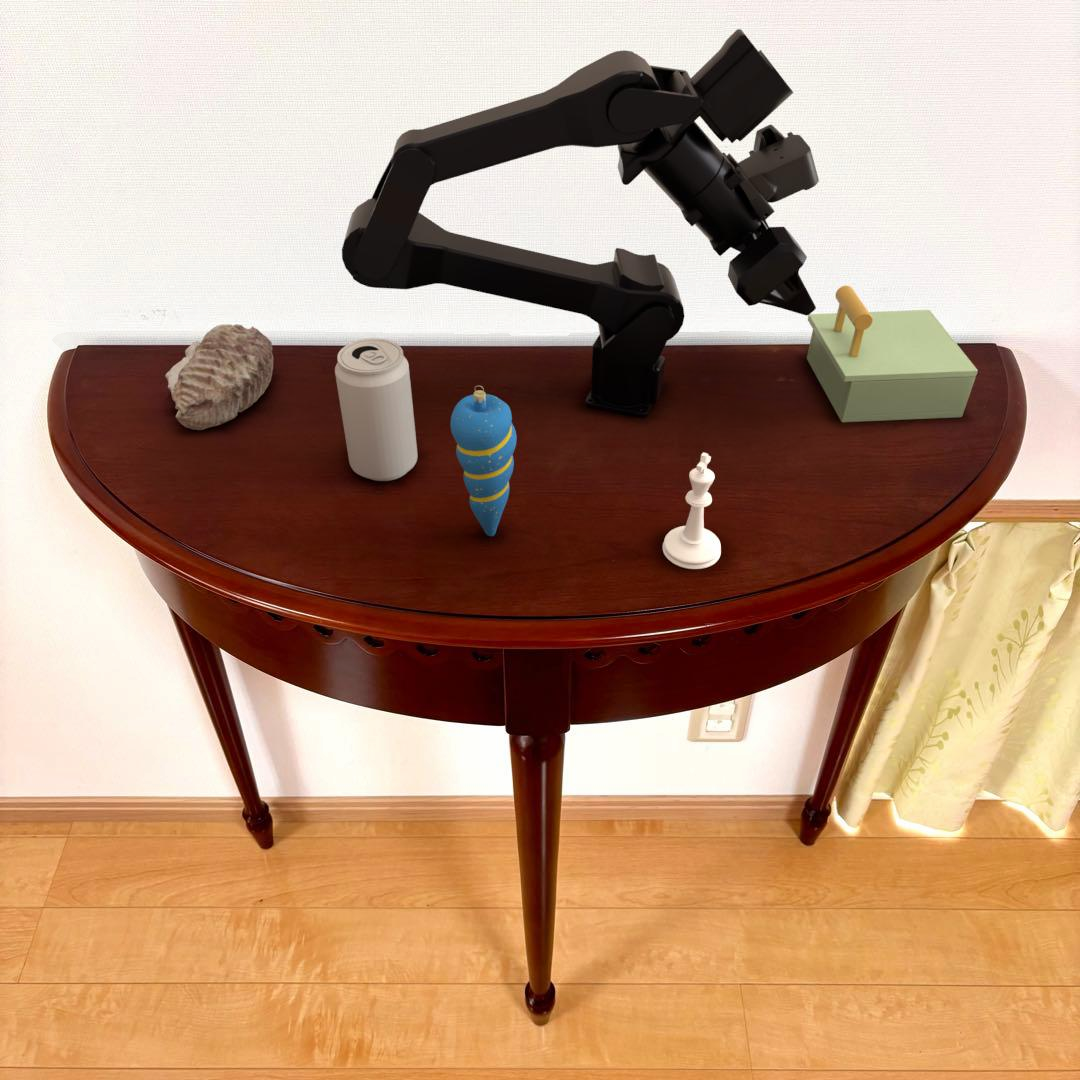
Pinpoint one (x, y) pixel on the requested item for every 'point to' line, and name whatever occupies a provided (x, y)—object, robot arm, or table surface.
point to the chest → (888, 393)
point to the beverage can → (377, 408)
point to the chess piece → (695, 525)
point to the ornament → (485, 454)
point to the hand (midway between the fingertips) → (797, 288)
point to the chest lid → (887, 343)
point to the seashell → (220, 376)
